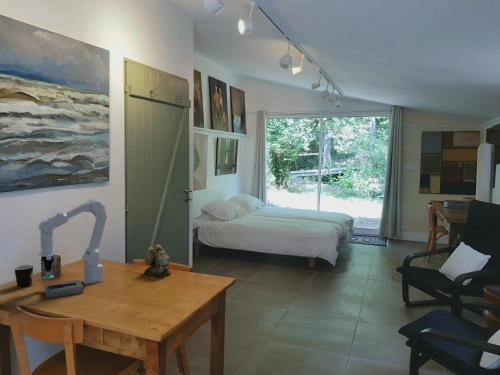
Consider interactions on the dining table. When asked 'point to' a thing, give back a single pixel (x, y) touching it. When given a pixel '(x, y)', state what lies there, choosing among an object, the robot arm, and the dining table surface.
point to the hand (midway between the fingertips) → (48, 270)
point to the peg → (48, 275)
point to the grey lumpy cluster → (157, 262)
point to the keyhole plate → (63, 289)
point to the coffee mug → (24, 275)
